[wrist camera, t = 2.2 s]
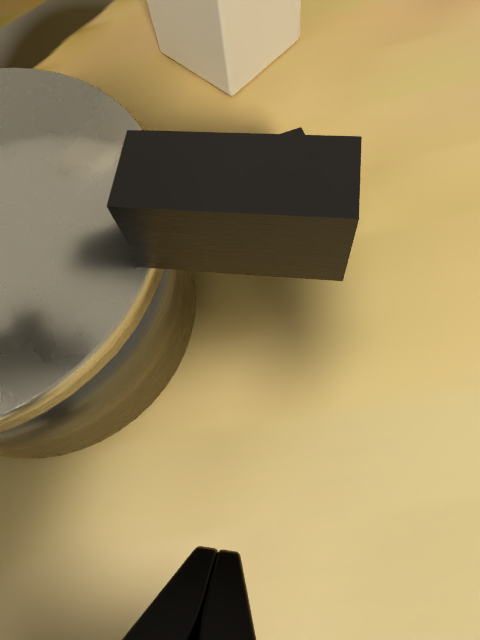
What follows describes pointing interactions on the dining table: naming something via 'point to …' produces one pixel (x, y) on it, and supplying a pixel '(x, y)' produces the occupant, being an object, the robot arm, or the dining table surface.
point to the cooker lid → (140, 223)
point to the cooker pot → (117, 378)
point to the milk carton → (225, 36)
